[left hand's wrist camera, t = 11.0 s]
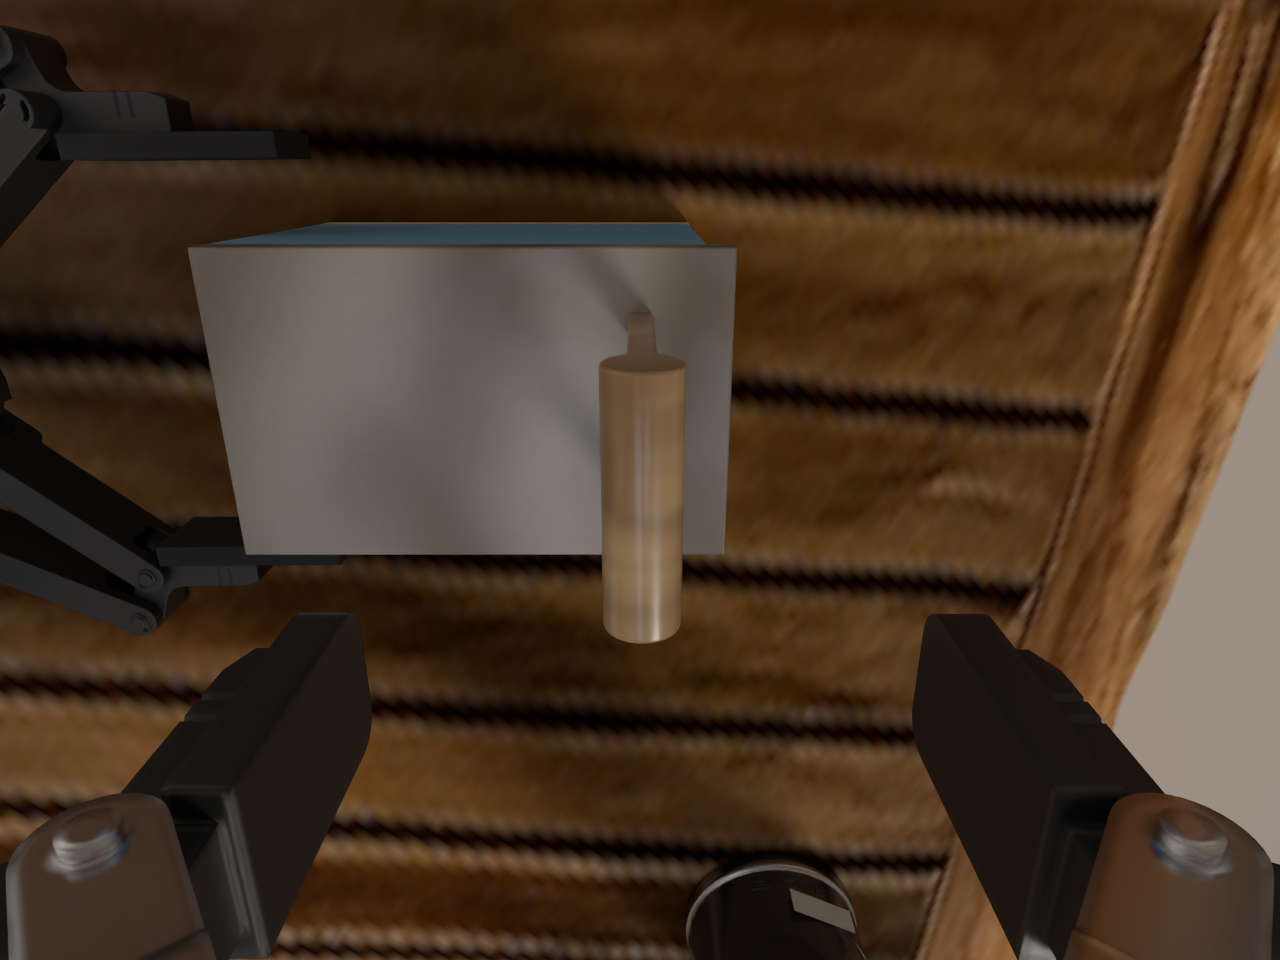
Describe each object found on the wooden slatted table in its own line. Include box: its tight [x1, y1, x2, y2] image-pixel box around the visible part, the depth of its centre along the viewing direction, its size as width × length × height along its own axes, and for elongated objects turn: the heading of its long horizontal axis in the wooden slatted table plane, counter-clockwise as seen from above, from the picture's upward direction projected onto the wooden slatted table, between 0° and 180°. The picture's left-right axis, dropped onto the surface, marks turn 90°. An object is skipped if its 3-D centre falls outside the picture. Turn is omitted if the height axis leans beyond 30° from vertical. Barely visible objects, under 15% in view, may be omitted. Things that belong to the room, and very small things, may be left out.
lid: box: [188, 244, 737, 644], centre depth 21 cm, size 15×9×9 cm, turn 90°
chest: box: [210, 222, 705, 244], centre depth 30 cm, size 14×9×10 cm, turn 90°
